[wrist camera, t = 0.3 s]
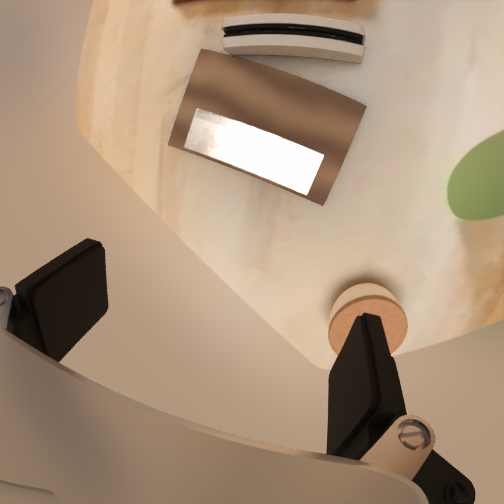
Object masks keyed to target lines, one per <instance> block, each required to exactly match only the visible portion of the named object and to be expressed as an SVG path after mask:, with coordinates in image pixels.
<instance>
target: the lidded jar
mask: <svg viewBox="0 0 504 504" xmlns="http://www.w3.org/2000/svg"><path fill="white" fill-rule="evenodd" d="M363 313H370V314H374V315H378V316H380V317H381V320H382V324H383V327H384V331H385V335H386V339H387V343H388V346H389V350H390V354H392V353H393V352H394V351H395V350H396V349H397V348H398V347H399V346H400V345H401V344H402V342H403V340H404V338H405V336H406V333H407V328H408V325H407V318H406V315H405V313H404V311H403V309H402V308H401V306H400V304H399V302H398V300H397V299H396V298H395V296H394V295H393V294H392V293H391V292H390V291H389V290H388V289H386V288H384V287H382V286H380V285H378V284H374V283H362V284H357V285H354V286H352V287H350V288H348V289H347V290H345V291H344V292H343V293H342V294H341V295H340V296H339V297H338V299H337V300H336V302H335V303H334V305H333V308H332V311H331V315H330V320H329V343H330V345H331V347H332V349H333V350H334V352H335V353H336V354H337V355H339V353H340V351H341V349H342V347H343V345H344V342H345V340H346V338H347V336H348V334H349V332H350V329H351V327H352V325H353V323H354V321H355V318H356V317H357V316H358V315H359V316H362V314H363Z"/></svg>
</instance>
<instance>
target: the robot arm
mask: <svg viewBox="0 0 504 504" xmlns="http://www.w3.org/2000/svg"><path fill="white" fill-rule="evenodd" d="M15 289H16V293H17V294H15V295H14V296H13V293H12V291H11V290H10V289H9V288H7V287H2V286H1V287H0V504H474V501H475V489H474V486H473V484H472V482H471V481H470V480H469V479H468V478H467V477H465V476H464V475H463V474H462V473H460V472H459V471H458V470H457V469H456V468H454V467H453V466H452V465H451V464H450V463H448V462H447V461H446V460H445V459H444V458H442V457H441V456H440V455H439V454H437V453H436V452H435V451H434V450H433V447H434V444H435V434H434V431H433V429H432V428H431V426H430V424H429V423H427V422H426V421H425V420H424V419H422V418H420V417H418V416H415V415H407V413H406V408H405V403H404V399H403V394H402V389H401V385H400V380H399V376H398V372H397V367H396V364H395V360H394V358H393V357H392V356H391V354H390V350H389V346H388V343H387V339H386V335H385V331H384V327H383V324H382V320H381V317H380V316H378V315H374V314H370V313H363V314H362V316H359V315H358V316H357V317H356V318H355V321H354V323H353V325H352V327H351V329H350V332H349V334H348V336H347V338H346V340H345V342H344V345H343V347H342V349H341V351H340V353H339V355H338V357H337V359H336V361H335V363H334V365H333V367H332V369H331V371H330V374H329V391H328V392H329V393H328V394H329V395H328V432H327V454H322V453H316V452H310V451H304V450H299V449H294V448H289V447H284V446H279V445H275V444H270V443H266V442H262V441H257V440H253V439H249V438H245V437H241V436H238V435H234V434H230V433H226V432H223V431H220V430H216V429H212V428H210V427H206V426H203V425H200V424H197V423H194V422H191V421H188V420H185V419H182V418H179V417H176V416H174V415H171V414H168V413H166V412H163V411H160V410H158V409H155V408H153V407H150V406H148V405H145V404H143V403H140V402H138V401H135V400H133V399H131V398H128V397H126V396H124V395H122V394H120V393H117V392H115V391H113V390H111V389H109V388H106V387H105V386H102V385H100V384H98V383H96V382H94V381H92V380H90V379H88V378H86V377H84V376H82V375H81V374H79V373H77V372H75V371H73V370H71V369H69V368H68V367H66V366H64V365H62V364H60V363H59V362H60V361H61V359H62V358H63V357H64V356H65V355H66V354H67V353H68V352H69V351H70V350H71V349H72V348H73V347H74V346H75V344H76V343H77V342H78V341H79V340H80V339H81V338H82V337H83V336H84V335H85V334H86V333H87V332H88V331H89V330H90V329H91V328H92V327H93V326H94V325H95V324H96V323H97V322H98V321H99V320H100V318H101V317H102V316H103V315H104V314H105V313H106V312H107V309H108V295H107V282H106V265H105V249H104V247H102V244H101V242H99V241H96V240H92V239H89V238H87V239H85V240H83V241H82V242H80V243H78V244H77V245H75V246H73V247H72V248H70V249H69V250H67V251H65V252H64V253H63V254H61V255H59V256H58V257H56V258H55V259H53V260H51V261H50V262H49V263H47V264H46V265H44V266H42V267H41V268H39V269H38V270H36V271H35V272H33V273H32V274H30V275H29V276H27V277H26V278H24V279H23V280H21V281H20V282H19V283H17V284H16V285H15Z"/></svg>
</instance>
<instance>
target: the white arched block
mask: <svg viewBox="0 0 504 504" xmlns="http://www.w3.org/2000/svg"><path fill="white" fill-rule="evenodd" d="M222 30H223V31H224V32H225V35H224V38H222V39H221V41H222V46H223V49H224V50H226V51H227V52H228V53H229V54H230V55H286V56H302V57H314V58H324V59H332V60H340V61H347V62H354V63H360V64H361V63H362V59H363V56H364V50H365V47H364V42H365V32H364V27H363V26H362V25H360V24H357V23H353V22H349V21H345V20H340V19H334V18H328V17H321V16H314V15H304V14H283V13H269V14H250V15H240V16H233V17H227V18H224V20H223V24H222Z"/></svg>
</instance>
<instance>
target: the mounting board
mask: <svg viewBox="0 0 504 504" xmlns="http://www.w3.org/2000/svg"><path fill="white" fill-rule="evenodd" d="M366 107H367V106H365V105H363V104H361V103H359V102H357V101H355V100H353V99H350V98H348V97H346V96H344V95H342V94H339V93H337V92H335V91H332V90H330V89H328V88H325V87H323V86H320V85H318V84H315V83H313V82H310V81H308V80H305V79H302V78H300V77H297V76H294V75H291V74H289V73H286V72H283V71H280V70H277V69H274V68H271V67H268V66H265V65H261V64H258V63H255V62H251V61H248V60H245V59H241V58H237V57H234V56H230V55H226V54H222V53H218V52H214V51H209V50H205V49H201V51H200V53H199V56H198V58H197V61H196V64H195V66H194V69H193V71H192V74H191V77H190V80H189V82H188V85H187V88H186V91H185V94H184V97H183V99H182V102H181V105H180V108H179V111H178V114H177V118H176V121H175V124H174V127H173V130H172V133H171V137H170V140H169V143H168V145H169V146H172V147H175V148H178V149H181V150H184V151H187V152H189V153H192V154H195V155H198V156H201V157H203V158H206V159H209V160H212V161H214V162H217V163H220V164H222V165H225V166H228V167H230V168H233V169H235V170H238V171H241V172H243V173H246V174H248V175H251V176H253V177H256V178H258V179H261V180H263V181H266V182H268V183H271V184H273V185H275V186H278V187H280V188H283V189H285V190H287V191H290V192H292V193H294V194H297V195H299V196H301V197H304V198H306V199H308V200H311V201H313V202H315V203H317V204H320V205H322V206H323V205H324V203H325V201H326V199H327V197H328V194H329V192H330V190H331V188H332V186H333V183H334V181H335V179H336V177H337V174H338V172H339V170H340V168H341V165H342V163H343V161H344V159H345V156H346V154H347V152H348V149H349V147H350V145H351V142H352V140H353V138H354V135H355V133H356V131H357V128H358V126H359V124H360V121H361V119H362V116H363V114H364V111H365V109H366ZM197 108H199V109H202V110H205V111H209V112H212V113H215V114H218V115H221V116H224V117H227V118H230V119H233V120H236V121H239V122H242V123H245V124H247V125H250V126H253V127H256V128H258V129H261V130H264V131H266V132H269V133H272V134H274V135H277V136H280V137H282V138H285V139H287V140H290V141H292V142H295V143H297V144H299V145H302V146H304V147H307V148H309V149H311V150H314V151H316V152H318V153H320V154H323V155H324V156H323V159H322V161H321V163H320V166H319V168H318V170H317V173H316V175H315V177H314V179H313V182H312V184H311V186H310V189H309V191H308V193H307V195H305V194H303V193H300V192H298V191H296V190H293V189H291V188H289V187H286V186H284V185H281V184H279V183H277V182H274V181H272V180H269V179H267V178H264V177H262V176H259V175H257V174H254V173H252V172H249V171H247V170H244V169H242V168H239V167H236V166H234V165H231V164H229V163H226V162H223V161H221V160H218V159H215V158H212V157H210V156H207V155H204V154H201V153H199V152H196V151H193V150H190V149H187V148H184V145H185V142H186V139H187V136H188V133H189V130H190V127H191V124H192V121H193V118H194V115H195V112H196V109H197Z"/></svg>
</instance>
